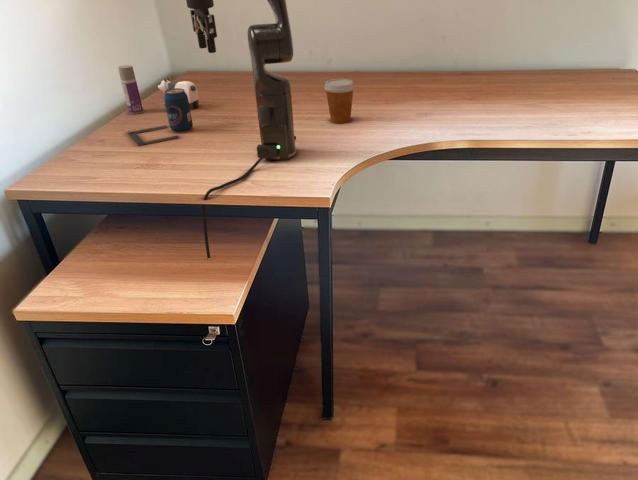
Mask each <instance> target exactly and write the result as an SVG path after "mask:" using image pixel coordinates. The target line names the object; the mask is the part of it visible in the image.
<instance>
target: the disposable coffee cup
mask: <svg viewBox="0 0 638 480" xmlns="http://www.w3.org/2000/svg"><path fill="white" fill-rule="evenodd" d="M323 88H324V90H325V93H326V99H327V105H328V111H329V116H330V122H331V123H334V124H346V123H349V122H351V117H352V107H353V105H352V104H353V95H354V89H355V84H354V81H353V80H352V79H347V78H332V79H328V80H326V81H325V83H324V86H323Z"/></svg>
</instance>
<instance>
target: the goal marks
mask: <svg viewBox="0 0 638 480" xmlns="http://www.w3.org/2000/svg"><path fill="white" fill-rule="evenodd" d="M163 129H168V126H167V125H162V126H157V127H152V128H146V129H139V130H136V131H130V132H129V131H128V132H127V135H129V136H130V138H131V139H132V141H134V142H135V143H136V144H137V146H138V147H140V146H145V145H150V144H151V145H152V144H156V143H160V142H166V141H171V140H172V141H173V140H176V139H179V138H180V137H179V136H178V135H174V136H169V137H164V138H159V139H153V140H149V141H144V140H143V139H142V138H141V137H140V136H139V135H138V134H141V133H142V134H143V133H147V132H152V131H158V130H163Z"/></svg>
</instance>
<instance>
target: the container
mask: <svg viewBox="0 0 638 480" xmlns="http://www.w3.org/2000/svg"><path fill="white" fill-rule="evenodd" d="M117 69H118V74H119V78H120V83H121V87H122V91H123V94H124V99H125V103H126V106H127V107H126V108H127V111H128V114H130V115H139V114H142V113H143V112H144V109H143V104H142V99H141V94H140V90H139V87H138V82H137V78H136V75H135V71H134V67H133V64H132V65H131V64H123V65H119V66H118V67H117Z"/></svg>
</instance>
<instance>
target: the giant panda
mask: <svg viewBox="0 0 638 480" xmlns="http://www.w3.org/2000/svg"><path fill="white" fill-rule="evenodd" d="M157 88H158V89H159V90H160V91H161V92H162V93H163V94H165V91H166V90H169V89H175V88H180V89H184V91H185V93H186V94H187V96H188V101H189V107H190V111H192V110H194V109H195V108H199V102H200V101H199V99H200V98H199V97H200V96H199V91H198V88H197V86H196V85H195V84H194V82H192V81H189V80H183V81H173V82H172V81H171V80H170V78H169V77H167V78H164V79H162V81H160V84H158V85H157Z"/></svg>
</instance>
